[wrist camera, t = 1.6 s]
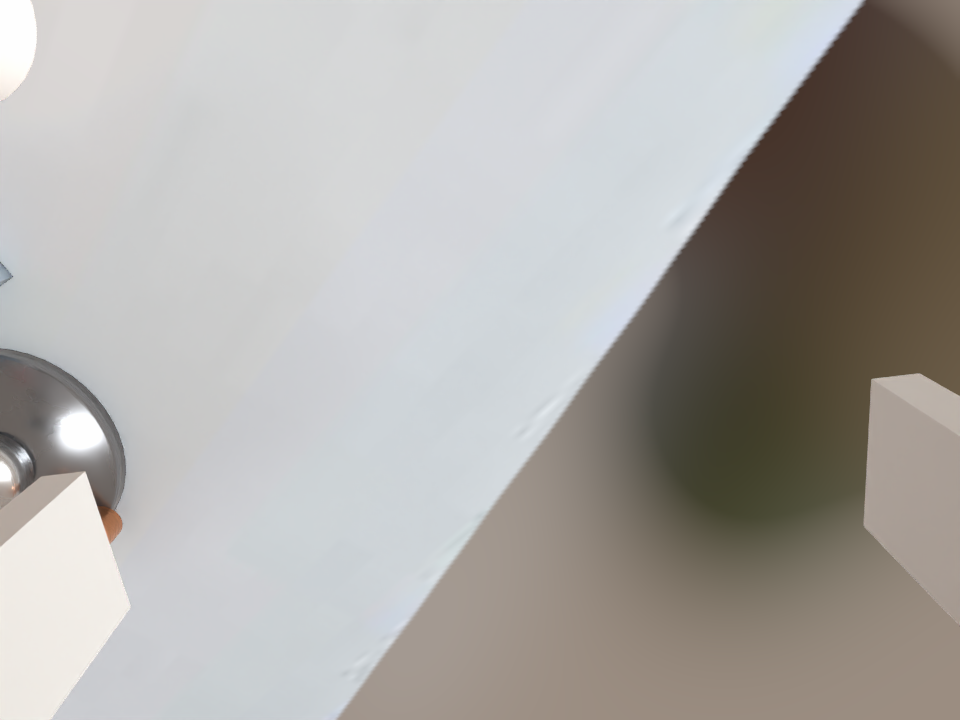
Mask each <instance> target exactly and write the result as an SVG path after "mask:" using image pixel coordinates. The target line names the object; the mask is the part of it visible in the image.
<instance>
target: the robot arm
mask: <svg viewBox="0 0 960 720" xmlns="http://www.w3.org/2000/svg"><path fill="white" fill-rule="evenodd" d="M865 493H866V494H865V511H864V527H865V528H866V529H867V530H868V531H869V532H870V533H871V534H872V535H873V536H874V537H875V538H876V539H877V541H878V542H879V543H880V544H881V545H882V546H883V547H884V548H885V549H886V550H887V551H888V552H889V553H890V554H891V555H892V556H893V557H894V558H895V559H896V560H897V561H898V562H899V563H900V564H901V566H902V567H903V568H904V569H905V570H906V571H907V572H908V573H909V574H910V575H911V576H912V577H913V578H914V579H915V580H916V581H917V582H918V583H919V584H920V585H921V586H922V587H923V588H924V589H925V591H927V593H929V595H930V596H931V597H932V598H933V599H934V600H935V601H936V602H937V603H938V604H939V605H940V606H941V607H942V608H943V609H944V610H945V611H946V612H947V613H948V614H949V616H950V617H951V618H952V619H953V620H954V621H956V623H957V624H958V625H959V626H960V396H958V395H956V394H955V393H953V392H951V391H949V390H948V389H946V388H944V387H942V386H941V385H939V384H937V383H935V382H933V381H932V380H930V379H928V378H926V377H925V376H923V375H921V374H911V375H903V376H893V377H885V378H876V379H871V398H870V416H869V436H868V454H867V474H866V492H865ZM130 608H131V606H130V603H129V600H128V597H127V594H126V591H125V588H124V585H123V582H122V579H121V576H120V573H119V570H118V567H117V564H116V561H115V558H114V555H113V552H112V549H111V546H110V543H109V540H108V537H107V534H106V531H105V528H104V525H103V522H102V519H101V517H100V514H99V511H98V508H97V505H96V502H95V499H94V496H93V493H92V490H91V487H90V484H89V481H88V478H87V475H86V472H85V471H83V472H75V473H66V474H57V475H49V476H41V477H40V478H39V479H37V480H36V481H35V482H34V483H33V484H31V485H30V486H29V487H28V488H26V489H25V490H24V491H23V492H21V493H20V494H19V495H18V496H17V497H15V498H14V499H13V500H12V501H10V502H9V503H8V504H7V505H6V506H4V507H3V508H2V509H1V510H0V720H51V718H52V717H53V716H54V714H55V713H56V711H57V710H58V709H59V707H60V706H61V704H62V703H63V702H64V700H65V699H66V697H67V696H68V695H69V693H70V692H71V690H72V689H73V688H74V686H75V685H76V683H77V682H78V681H79V679H80V678H81V676H82V675H83V674H84V672H85V671H86V669H87V668H88V667H89V665H90V664H91V662H92V661H93V659H94V658H95V657H96V655H97V654H98V652H99V651H100V650H101V648H102V647H103V645H104V644H105V643H106V641H107V640H108V638H109V637H110V636H111V634H112V633H113V631H114V630H115V629H116V627H117V626H118V624H119V623H120V622H121V620H122V619H123V617H124V616H125V615H126V613H127V612H128V610H129V609H130Z"/></svg>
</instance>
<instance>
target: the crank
mask: <svg viewBox="0 0 960 720" xmlns="http://www.w3.org/2000/svg"><path fill="white" fill-rule="evenodd" d="M33 480H34V468H33V464H32V461H31V459H30V457H29V455H28V454H27V452H26V451H25V450H24V449H23V448H22V447H21V446H20V445H19V444H18V443H17V442H15V441H14V440H12V439H11V438H9V437H7V436H5V435H2V434H0V510H1V509H2V508H3V507H4V506H6V505H7V504H8V503H9V502H10V501H12V500H13V499H14V498H15V497H17V496H18V495H19V494H20V493H21V492H23V491H24V490H25V489H26V488H28V487H29V486H30V485H31V484H32V483H33Z"/></svg>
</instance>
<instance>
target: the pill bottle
mask: <svg viewBox="0 0 960 720" xmlns="http://www.w3.org/2000/svg"><path fill="white" fill-rule="evenodd" d="M36 45H37V26H36V20H35V15H34V9H33V6H32V3H31V0H0V101H2V100H5V99H6V98H7V97H9V96H10V95H11V94H12V93H13V92H15V91H16V90H17V89H18V88H19V86H20V85H21V84H22V82H23V81H24V80H25V78H26V77H27V75H28V73H29V70H30V68H31V66H32V63H33V60H34V55H35V50H36Z"/></svg>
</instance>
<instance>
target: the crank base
mask: <svg viewBox="0 0 960 720" xmlns="http://www.w3.org/2000/svg"><path fill="white" fill-rule="evenodd" d="M0 434H2V435H5V436H7V437H9V438H11V439H12V440H14V441H15V442H17V443H18V444H19V445H20V446H21V447H22V448H23V449H24V450H25V451H26V452H27V454H28V455H29V457H30V459H31V461H32V464H33V468H34V480H33V483H34V482H35V481H36V480H37V479H39V478H40V477H41V476H49V475H57V474H66V473H75V472H83V471H85V472H86V475H87V478H88V481H89V484H90V487H91V490H92V493H93V496H94V499H95V502H96V505H97V508H98V511H99V514H100V517H101V519H102V522H103V525H104V528H105V531H106V534H107V537H108V540H109V543H110V544H111V542H112V541H113V540H114V539H115V538H116V537H117V535H118V534H119V533H120V532H121V530H122V520H121V518H120V516H119V515H118V514H117V513H116V512H115V511H114V510H115V509H116V507H117V505H118V503H119V501H120V499H121V495H122V492H123V489H124V483H125V476H126V465H125V456H124V450H123V446H122V443H121V440H120V436H119V434H118V432H117V429H116V427H115V425H114V423H113V421H112V419H111V418H110V416H109V415H108V413H107V411H106V410H105V408H104V407H103V406H102V405H101V403H100V402H99V401H98V400H97V398H96V397H95V396H94V395H93V394H92V393H91V392H90V391H89V390H88V389H87V388H86V387H85V386H84V385H83V384H81V383H80V382H79V381H78V380H76V379H75V378H74V377H73V376H71V375H70V374H68V373H67V372H65V371H64V370H62V369H60V368H59V367H57V366H55V365H53V364H51V363H49V362H47V361H45V360H43V359H40V358H37V357H35V356H32V355H29V354H26V353H22V352H18V351H14V350H7V349H0ZM33 483H32V484H33Z"/></svg>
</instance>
